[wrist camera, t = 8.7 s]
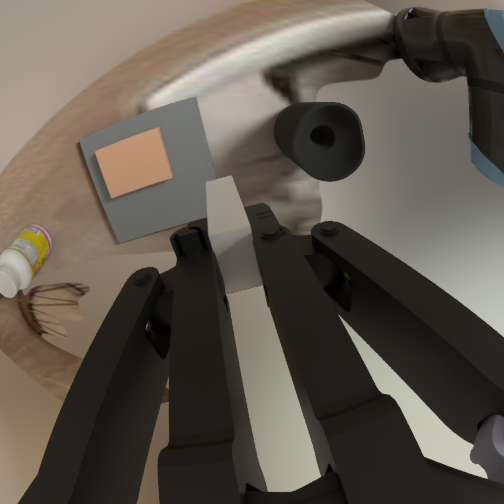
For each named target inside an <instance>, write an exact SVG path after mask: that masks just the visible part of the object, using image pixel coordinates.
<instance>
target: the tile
mask: <svg viewBox="0 0 504 504" xmlns="http://www.w3.org/2000/svg"><path fill="white" fill-rule="evenodd" d="M95 154H96V157H97V160H98V163H99V166H100V169H101V171H102V174H103V177H104V180H105V182H106V185H107V188H108V190H109V193H110V196H111V198H114V197H117V196H120V195H122V194H125V193H128V192H131V191H134V190H137V189H140V188H142V187H145V186H148V185H151V184H154V183H158V182H161V181H164V180H167V179H170V178H173V172H172V169H171V165H170V162H169V159H168V155H167V152H166V148H165V145H164V141H163V138H162V134H161V131H160V127H156V128H153V129H150V130H147V131H144V132H141V133H139V134H136V135H133V136H131V137H128V138H125V139H123V140H120V141H118V142H115V143H113V144H110V145H108V146H105V147H103V148H101V149H98V150H97V151H95Z"/></svg>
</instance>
